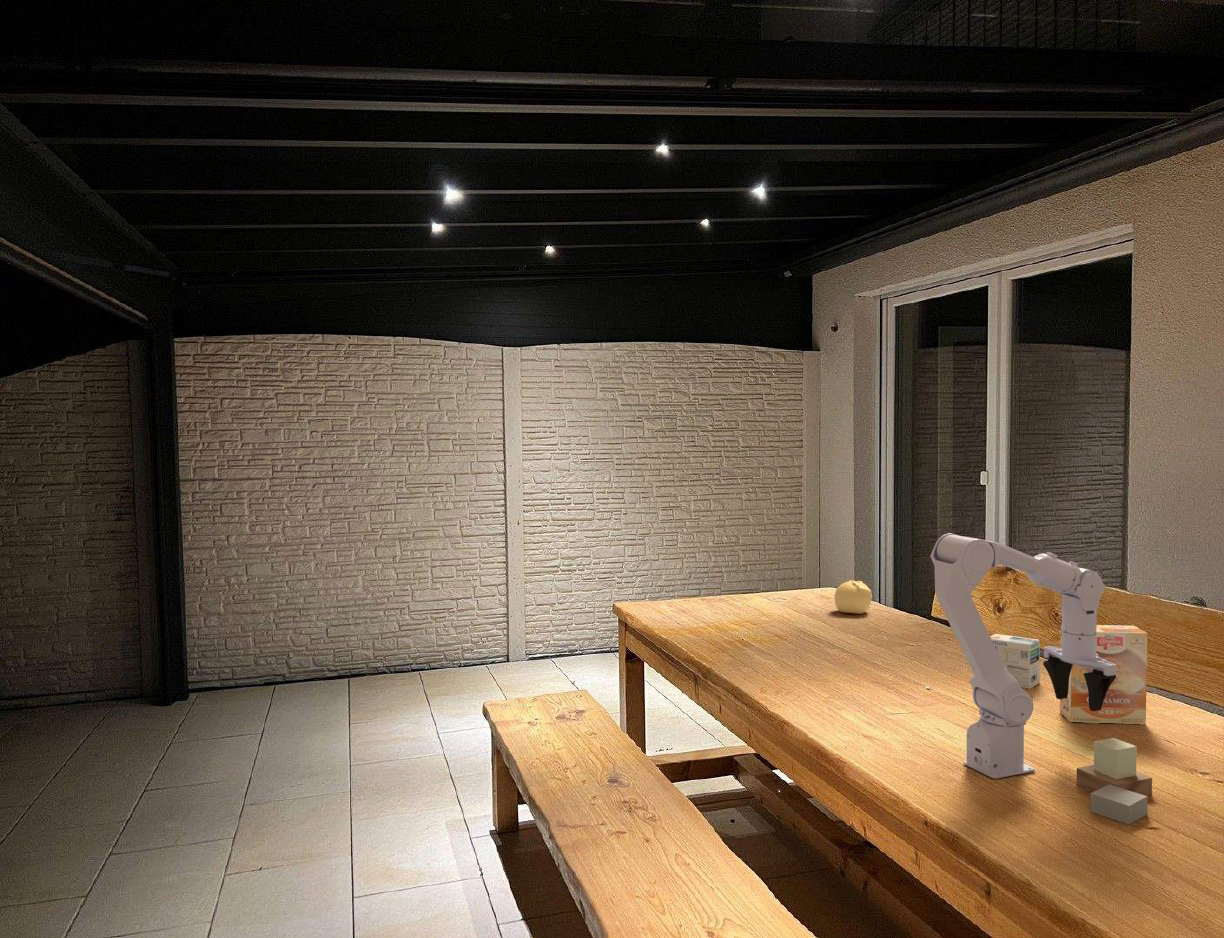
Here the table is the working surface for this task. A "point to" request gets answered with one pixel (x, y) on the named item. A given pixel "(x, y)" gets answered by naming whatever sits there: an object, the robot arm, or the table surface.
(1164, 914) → the table surface
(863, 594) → the pale yellow round lump
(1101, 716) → the coffeecake box
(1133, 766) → the sage block
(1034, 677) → the light bulb box
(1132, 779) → the walnut block
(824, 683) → the table surface
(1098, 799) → the slate block
